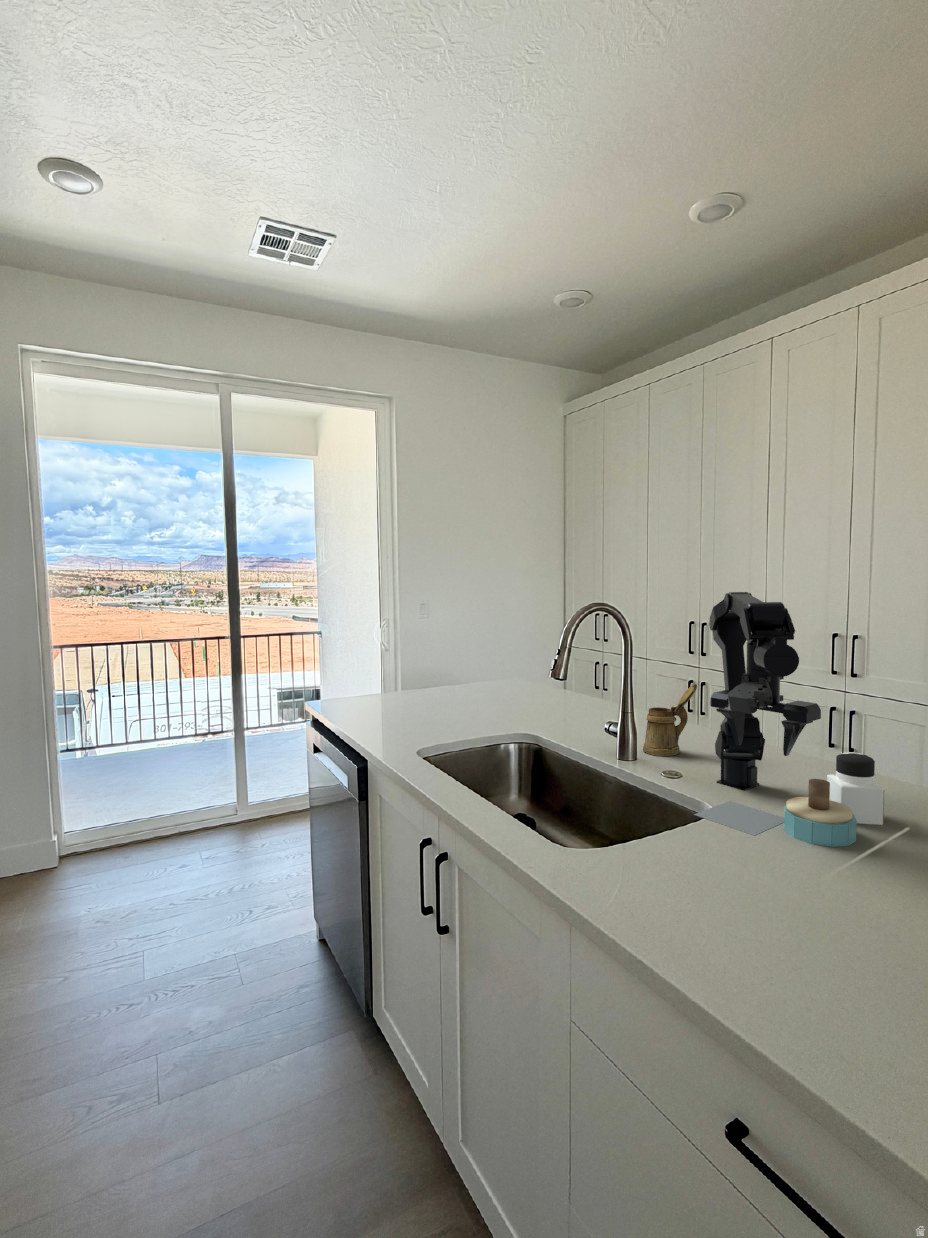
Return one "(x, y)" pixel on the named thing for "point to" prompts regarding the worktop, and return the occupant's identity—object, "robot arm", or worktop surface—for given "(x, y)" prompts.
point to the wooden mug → (666, 727)
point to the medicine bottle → (857, 787)
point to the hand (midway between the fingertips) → (761, 750)
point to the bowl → (820, 831)
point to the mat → (741, 817)
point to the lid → (819, 805)
